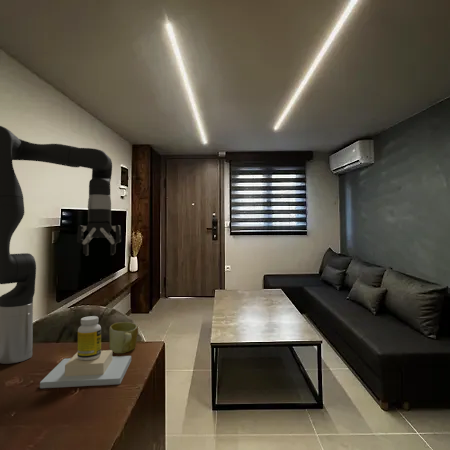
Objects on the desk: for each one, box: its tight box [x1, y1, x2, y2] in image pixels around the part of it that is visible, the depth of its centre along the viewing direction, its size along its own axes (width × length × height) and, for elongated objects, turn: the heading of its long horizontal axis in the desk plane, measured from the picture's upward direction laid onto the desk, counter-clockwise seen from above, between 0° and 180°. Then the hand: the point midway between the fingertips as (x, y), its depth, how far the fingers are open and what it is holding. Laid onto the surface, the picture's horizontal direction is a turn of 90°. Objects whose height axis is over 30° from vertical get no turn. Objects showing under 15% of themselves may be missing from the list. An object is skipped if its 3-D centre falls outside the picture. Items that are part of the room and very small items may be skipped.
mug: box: [108, 321, 139, 354], centre depth 110 cm, size 12×10×10 cm
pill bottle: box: [77, 315, 102, 361], centre depth 92 cm, size 6×6×11 cm
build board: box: [39, 349, 132, 389], centre depth 92 cm, size 20×16×4 cm
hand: (99, 255), depth 113 cm, fingers open, 8 cm apart
